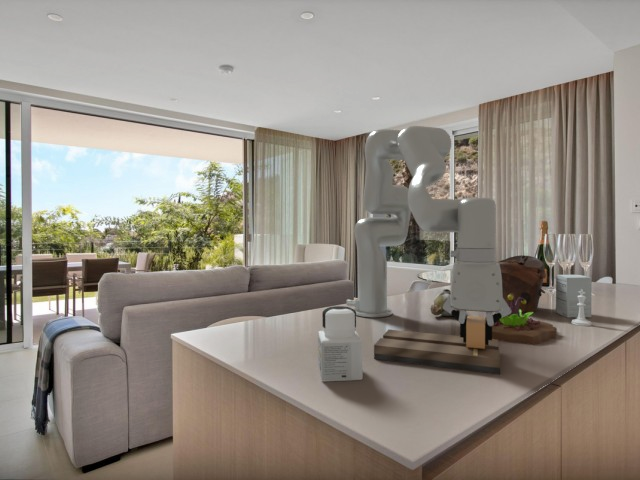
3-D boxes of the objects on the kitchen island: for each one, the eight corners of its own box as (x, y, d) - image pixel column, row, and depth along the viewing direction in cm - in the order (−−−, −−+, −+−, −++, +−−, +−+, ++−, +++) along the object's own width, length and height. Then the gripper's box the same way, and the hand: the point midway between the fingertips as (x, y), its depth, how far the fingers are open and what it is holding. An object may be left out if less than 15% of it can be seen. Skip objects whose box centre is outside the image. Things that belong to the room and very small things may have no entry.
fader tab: (466, 356, 83) (466, 322, 82) (467, 348, 88) (467, 316, 88) (484, 358, 81) (485, 323, 81) (484, 350, 87) (485, 317, 87)
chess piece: (585, 326, 111) (585, 291, 111) (567, 323, 116) (567, 289, 115) (595, 324, 114) (595, 290, 113) (577, 321, 118) (577, 287, 118)
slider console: (374, 358, 86) (374, 344, 86) (388, 341, 99) (388, 328, 99) (500, 374, 77) (500, 357, 76) (498, 352, 89) (498, 338, 89)
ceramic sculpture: (460, 284, 134) (467, 295, 119) (460, 310, 134) (467, 323, 120) (428, 284, 136) (431, 294, 121) (428, 309, 137) (431, 322, 122)
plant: (460, 334, 106) (460, 293, 106) (487, 321, 120) (487, 284, 120) (544, 349, 92) (544, 302, 92) (563, 332, 107) (563, 291, 106)
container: (318, 367, 81) (317, 304, 81) (355, 366, 82) (355, 303, 81) (321, 382, 73) (321, 312, 73) (362, 380, 74) (362, 311, 74)
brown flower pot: (496, 314, 127) (496, 259, 127) (481, 302, 147) (481, 254, 146) (556, 316, 124) (557, 259, 124) (533, 304, 144) (533, 254, 143)
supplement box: (578, 312, 129) (579, 274, 129) (592, 318, 122) (592, 277, 121) (554, 312, 130) (555, 274, 129) (566, 317, 122) (567, 277, 122)
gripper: (433, 257, 84) (433, 342, 84) (521, 258, 77) (520, 351, 78) (437, 254, 91) (437, 333, 91) (518, 256, 84) (517, 341, 85)
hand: (475, 341), depth 85 cm, fingers closed on fader tab, 3 cm apart
